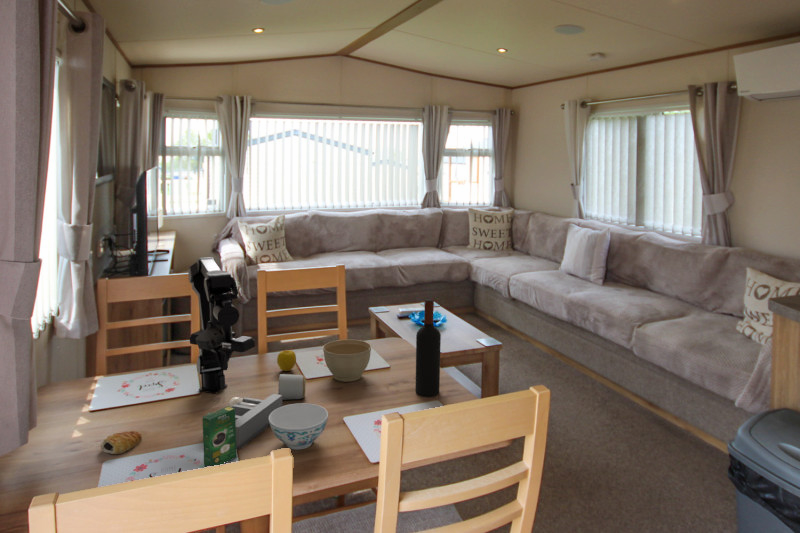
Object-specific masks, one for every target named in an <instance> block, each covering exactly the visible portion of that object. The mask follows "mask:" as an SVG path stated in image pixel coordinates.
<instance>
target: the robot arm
mask: <svg viewBox="0 0 800 533" xmlns="http://www.w3.org/2000/svg"><path fill="white" fill-rule="evenodd" d="M188 283H189V284H191V289H192V291H194V293H195V294H196V296H197V297H198V305H199V306H198V307H199V315H200V322H201V325H200V326H201V329H199V330H197V331H195V332H192V333H191V334H190V336H189V344H190V345H196V346H197V347H198V349H199V350H198V354H199V355H198V356H197V359H196V360H197V361H196V368H197V370H196V371H197V372H198V374H199V375H200V376H201V380H200V381H201V387H200V388H198V391H199V390H200V391H199V392H205V393H210V394H211V393H212V394H216V393H218V392H220V391H222V390H223V389H225V388H227V387H228V384H227V383H226V375H225V373H224V372H225V371H228V368H229V367H228V366H229V361H230V358H231V357H232V355H233V353H234V352H237V353H245V352H248V351H249V350H251V349H253V348H255V347H256V341H255V339H254V337H252V336H245V335H242V336H239V337H238V338H234V337H235V336H236V332H235V331H233V328H232V326H234V325H236V324H237V323H238V321H239V319H240V312H239V310H238V309H237V308H236V307H235V305H233V300H238V295H239V290H238V286H237V282H236V280H235V278H234V276H232V274H231V272H228V271H227V270H221V268H220V267H219V266H218V264H217V263H216V258H215V257H213V256H208V257H207V256H206V257H199V258H197V259H196V262H195V263H194V264H192V265H191V266H189V269H188Z"/></svg>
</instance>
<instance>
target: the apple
mask: <svg viewBox="0 0 800 533" xmlns="http://www.w3.org/2000/svg"><path fill="white" fill-rule="evenodd" d="M276 362H277V365H278V367H279V369H280V370H281V371H284V372H289V371H291V370H292V369H293V368H294V367H295V365H296V362H297V355H296V353H295V351H294V350H290V349H289V350H284V349H283V350H281V351H280V352H279V353H278V355H277V358H276Z"/></svg>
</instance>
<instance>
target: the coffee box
mask: <svg viewBox="0 0 800 533" xmlns="http://www.w3.org/2000/svg"><path fill="white" fill-rule="evenodd" d="M209 413H210V414H208V413H207V414H208V415H207V414H206V415H203V416H202V417H201V420H202V425H203V426H202V441H203V442H202V443H203V444H202V445H203V448H202V449H203V468H204V467H207V466H214V465H220V464H223V465H225V464H227V463H228V462H231V461H232V460H234V459H235V458H237V457H238V456H237V455H238V454H237V449H236V420H235V408H232V407H229V406H228V405H227V406H225V407H222V408H220V409H217V410H215V411H214V412H209ZM227 461H228V462H227ZM224 462H225V464H224Z"/></svg>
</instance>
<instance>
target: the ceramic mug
mask: <svg viewBox="0 0 800 533" xmlns="http://www.w3.org/2000/svg"><path fill="white" fill-rule="evenodd" d="M306 378H307V377H306V376H305V375H302V374H287V373H286V374H285V373H283V374H281V373H280V374H279V376H278V389H277V390H278V391H277V392H278V393H277V395H282V401H287V400H303V399H304V398H305V397H306V380H307V379H306Z"/></svg>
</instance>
